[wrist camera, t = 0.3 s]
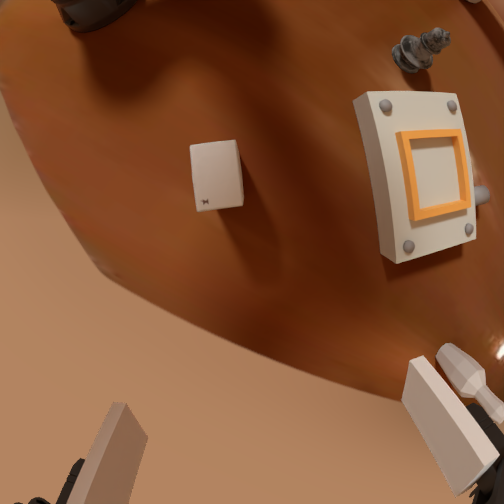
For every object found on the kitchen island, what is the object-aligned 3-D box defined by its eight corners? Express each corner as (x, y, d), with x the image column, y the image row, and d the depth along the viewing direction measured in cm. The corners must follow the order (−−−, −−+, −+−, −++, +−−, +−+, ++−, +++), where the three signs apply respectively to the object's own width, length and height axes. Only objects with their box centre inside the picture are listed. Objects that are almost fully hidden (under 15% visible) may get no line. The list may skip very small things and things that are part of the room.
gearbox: (352, 101, 32) (371, 88, 26) (457, 100, 31) (481, 94, 25) (380, 253, 38) (401, 267, 31) (475, 226, 37) (499, 234, 30)
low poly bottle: (441, 368, 45) (494, 434, 23) (427, 360, 44) (484, 432, 22) (459, 344, 43) (519, 405, 22) (447, 334, 42) (512, 401, 21)
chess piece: (427, 70, 30) (472, 49, 18) (404, 79, 31) (450, 55, 19) (407, 40, 29) (447, 12, 17) (383, 47, 29) (422, 15, 18)
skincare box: (245, 197, 35) (244, 208, 24) (212, 201, 35) (195, 214, 24) (240, 151, 34) (236, 138, 22) (206, 155, 34) (187, 145, 22)
